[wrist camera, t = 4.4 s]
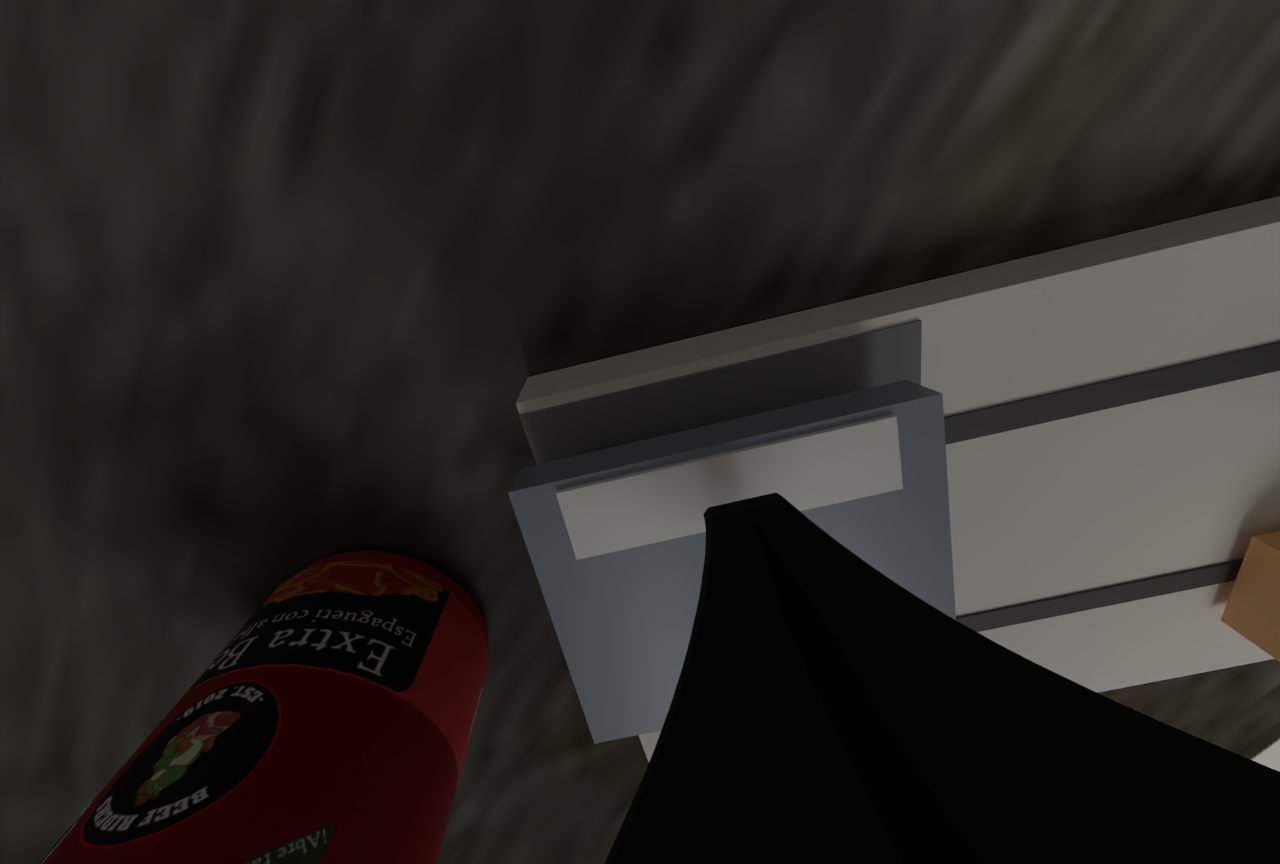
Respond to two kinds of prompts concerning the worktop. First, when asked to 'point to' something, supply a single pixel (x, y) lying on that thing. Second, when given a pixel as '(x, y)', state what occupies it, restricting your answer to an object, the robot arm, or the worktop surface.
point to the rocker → (676, 535)
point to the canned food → (308, 731)
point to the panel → (1032, 429)
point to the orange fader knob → (1258, 595)
